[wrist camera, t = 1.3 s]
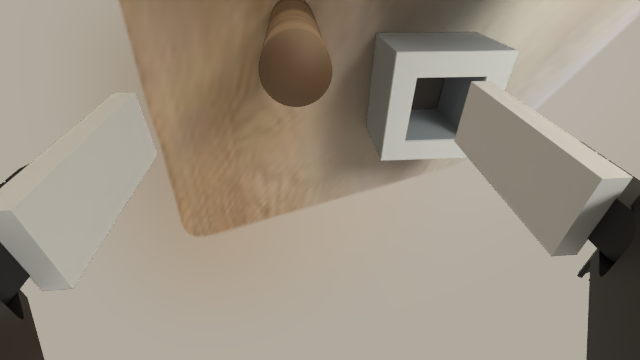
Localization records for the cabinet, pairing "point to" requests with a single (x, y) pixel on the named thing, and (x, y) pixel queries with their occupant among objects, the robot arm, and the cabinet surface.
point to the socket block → (428, 62)
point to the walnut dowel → (294, 56)
